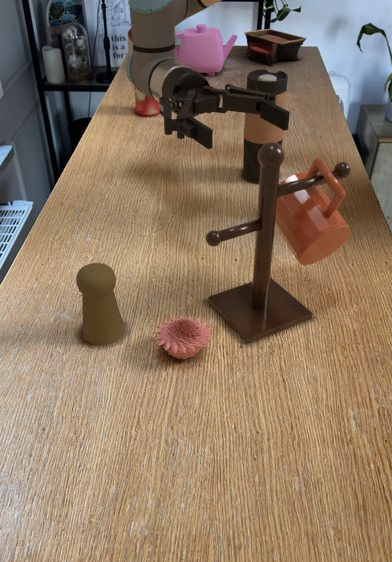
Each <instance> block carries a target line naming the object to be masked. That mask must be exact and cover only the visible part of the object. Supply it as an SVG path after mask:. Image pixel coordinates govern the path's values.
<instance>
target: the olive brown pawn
mask: <svg viewBox="0 0 392 562" xmlns="http://www.w3.org/2000/svg"><path fill="white" fill-rule="evenodd" d="M75 282H76V286H77V290H78V291H79V292H80V294H82V295H81V297H82V298H81V300H82V302H81V303H82V311H81V313H82V336H83V339H84V340H85V341H86V342H87V343H89V344H91V345H95V346H108V345H112V344H114V343H117V342H118V341H120V339H122V338H123V337H124V334H125V326H124V321H123V319H122V315H121V310H120V308H119V305H118V301H117V297H116V294H115V291H114V290H115V288H116V284H117V276H116V273H115V271H114V269H113V268H112V267H111V266H110V265H108V264H106V263H101V262H92V263H89V264H85V265H83V266H82V267H81V268H80V269H78V271H77V273H76V278H75Z"/></svg>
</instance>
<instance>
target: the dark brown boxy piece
mask: <svg viewBox="0 0 392 562" xmlns="http://www.w3.org/2000/svg"><path fill="white" fill-rule="evenodd" d="M244 35H245V38H246V44H247V50H246V59H248V60H250V61H252V62H255V63H259V64H262V65H265V66H269V67H270V66H273V65H274V64H275V63H276V62H277V61H278V60H295V61H300V59H299V57H298V56H299V50H300V48H301V47H302V46H303V45H304V42H306V40H307V37H304V36H301V35H300V36H299V35H296V34H292V33H288V32H285V31H280V30H276V29H271V28H268V29H267V28H266V29H265V28H264V29H257V30H250V31H245V32H244Z"/></svg>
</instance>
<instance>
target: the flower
mask: <svg viewBox="0 0 392 562" xmlns="http://www.w3.org/2000/svg"><path fill="white" fill-rule="evenodd" d="M169 319H170V320H169V321H168V320H167V321H166V320H165V321H164V320H162V321H161V323H163V325H155V328H157V329H159V330H158V331H154V332H152V334H155V335H158V336H157V337H155V338H153V341H159V343H158V345H157V346H158V347H161V346H162V348H163V349H164V351H165V352H168V353H167V355H168V356H169V355H170V356H171V357H172V358H176V359H177V360H178V359H179V360H182V359H183V360H186V359H189V358H193V357H194V356H196V354H197V353H199V352H200V351H201V350H203V349H205V348H206V346H205V345H206V344H209V343H210V342H211V343H212V340H210V339H211V337H213V336H214V334H213V333H210V332H211V330H212V327H207V324H208V322H207V321H205V322H203V323H201V318H200V317H197V318H196V319H193V318H192V316H191V315H189V316H188V318H187V317H184V316H183V315H180V314H179V318H174V317H171V316H170V317H169Z"/></svg>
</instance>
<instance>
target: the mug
mask: <svg viewBox="0 0 392 562" xmlns="http://www.w3.org/2000/svg"><path fill="white" fill-rule="evenodd" d="M331 171H332V170H331V169H329V167H328V166H327V164H326V163H325V161H324V160H323V159H322V158H321V157H317V158H315V159H314V161H313V162H312V164H311V166H310V167H309V169H308V171H301V172H298V173H294V174H291V175H290V176H288V177H287V178H285V179H283V180H282V181H280V182H279V185H282V184H285V183H289V182H292V181H296V180H300V179H303V178H307V177H310V176H314V175H317V174H321V175H322V177H323V178H324V180H325V181H326V182H327V183H326V184H327V185H328V187H329V188H330V189H331V191H332V193H333V194H334V196H333V198H332V199H331V198H330V197H329V196H328V194H327V193H326V191H325V190H324V189H323V187H322V185H318V186H315V187H312V188H308V189H305V190H301V191H298V192H294V193H291V194H287V195H284V196H281V197H277V207H276V218H275V228H276V230H277V231H278V233H279V235H280V236H281V238H282V239H283V241H284V243H285V244H286V245H287V247H288V248H289V250H290V252H291V253H292V255H293V256H294V258H295V260H297V262H298V263H299V264H300V265H301V266H309V265H313V264H316V263H318V262H320V261H322V260H324V259H326V258H327V257H329V256H331V255H332V254H333V253H335V252H336V251H337V250H339V249H340V248H341V247H342V246H343V245H344V244H345V243H346V242H347V240H348V239H349V237H350V236H351V233H352V229H351V228H350V227H351V226H349V224H348V223H347V221H346V220H345V219H344V217H343V216H342V214H341V213H340V211H339V210H338V208H339V207H340V205H341V204H342V202H343V200H344V199H345V197H346V195H347V194H346V190H345V189H344V188H343V187H342V185H341V184H340V182H339V180H336V178H335V177H334V175H333V174H332V173H331Z"/></svg>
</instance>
